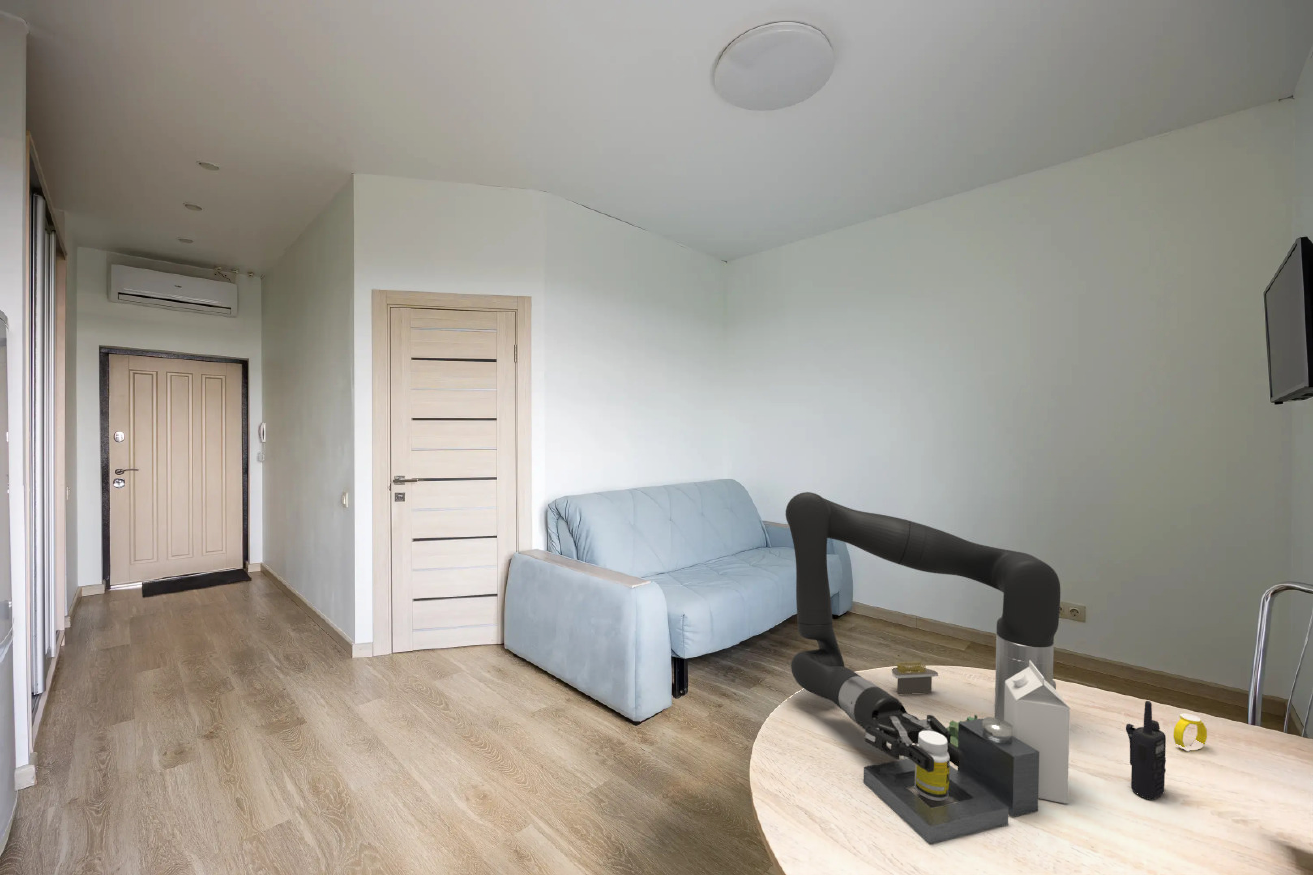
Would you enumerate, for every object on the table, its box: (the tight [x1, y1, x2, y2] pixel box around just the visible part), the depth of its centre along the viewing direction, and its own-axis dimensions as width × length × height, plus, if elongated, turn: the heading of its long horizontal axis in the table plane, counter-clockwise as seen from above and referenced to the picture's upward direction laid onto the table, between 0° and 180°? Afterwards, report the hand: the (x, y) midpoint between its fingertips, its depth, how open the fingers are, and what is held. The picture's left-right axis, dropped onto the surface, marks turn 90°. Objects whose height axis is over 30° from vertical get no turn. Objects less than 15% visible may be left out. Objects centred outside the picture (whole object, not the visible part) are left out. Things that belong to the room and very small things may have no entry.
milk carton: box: [1004, 660, 1071, 805], centre depth 89 cm, size 7×7×19 cm
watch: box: [1172, 712, 1208, 747], centre depth 101 cm, size 6×3×6 cm, turn 102°
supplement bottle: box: [914, 731, 951, 802], centre depth 85 cm, size 5×5×8 cm
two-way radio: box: [1125, 700, 1167, 800], centre depth 89 cm, size 6×4×15 cm
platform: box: [891, 661, 939, 695], centre depth 122 cm, size 12×18×7 cm, turn 98°
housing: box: [863, 716, 1039, 845], centre depth 86 cm, size 21×14×11 cm, turn 107°
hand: (946, 762), depth 82 cm, fingers closed on supplement bottle, 4 cm apart
